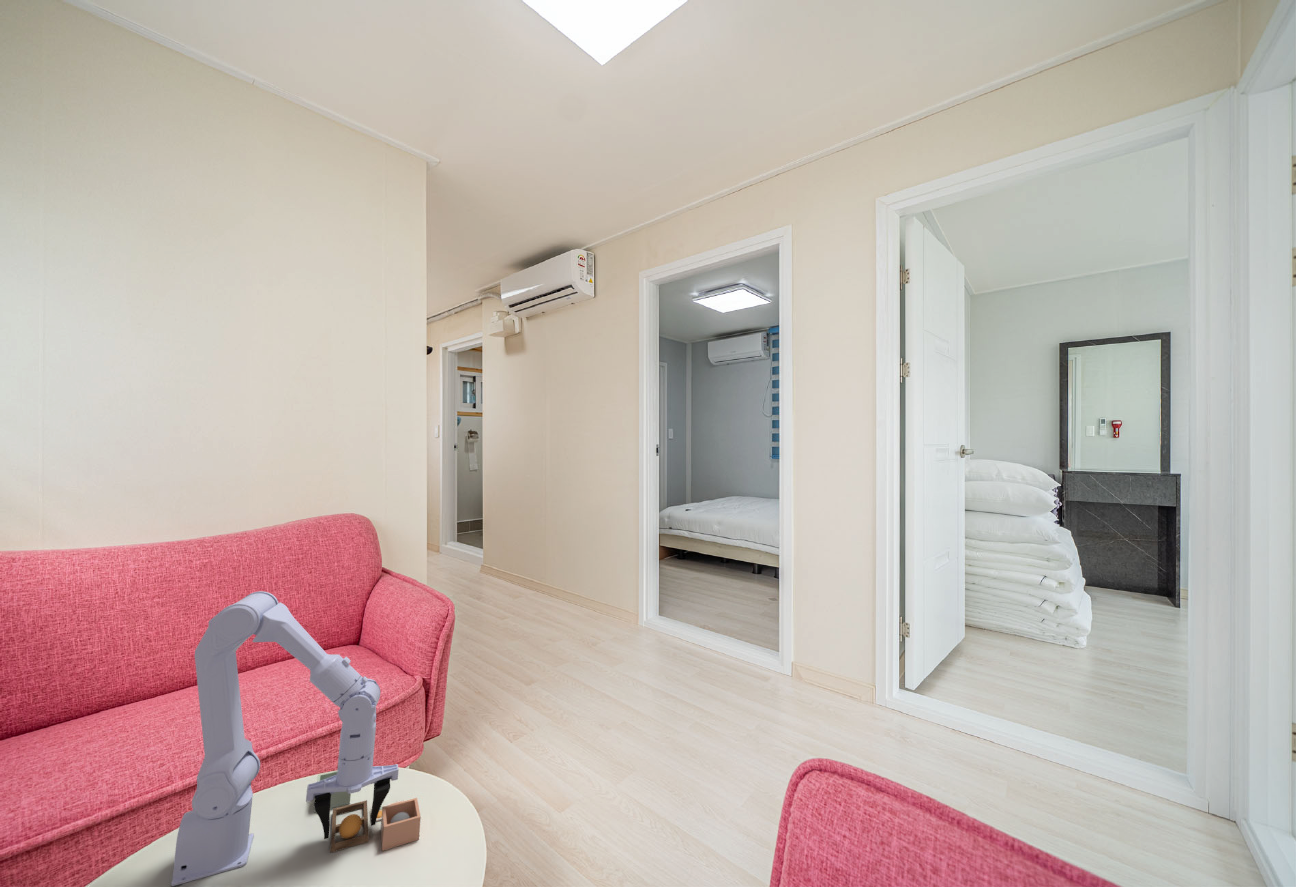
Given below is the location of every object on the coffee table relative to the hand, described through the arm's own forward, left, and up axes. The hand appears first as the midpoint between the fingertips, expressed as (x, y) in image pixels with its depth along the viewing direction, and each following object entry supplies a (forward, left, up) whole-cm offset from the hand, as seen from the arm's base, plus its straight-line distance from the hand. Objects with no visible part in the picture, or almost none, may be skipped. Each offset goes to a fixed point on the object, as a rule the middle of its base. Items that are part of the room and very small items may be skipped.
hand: (350, 828), depth 91 cm
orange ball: (0, 0, 0) cm, 0 cm away
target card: (+6, +4, -1) cm, 8 cm away
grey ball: (+8, -3, 0) cm, 9 cm away
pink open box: (+8, -3, -1) cm, 9 cm away
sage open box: (-3, +13, -1) cm, 14 cm away
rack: (0, +3, -1) cm, 3 cm away
